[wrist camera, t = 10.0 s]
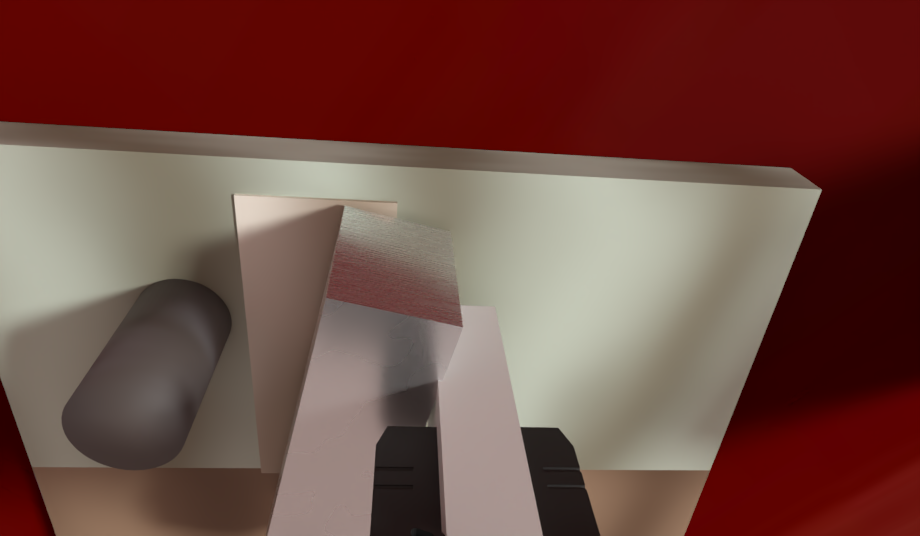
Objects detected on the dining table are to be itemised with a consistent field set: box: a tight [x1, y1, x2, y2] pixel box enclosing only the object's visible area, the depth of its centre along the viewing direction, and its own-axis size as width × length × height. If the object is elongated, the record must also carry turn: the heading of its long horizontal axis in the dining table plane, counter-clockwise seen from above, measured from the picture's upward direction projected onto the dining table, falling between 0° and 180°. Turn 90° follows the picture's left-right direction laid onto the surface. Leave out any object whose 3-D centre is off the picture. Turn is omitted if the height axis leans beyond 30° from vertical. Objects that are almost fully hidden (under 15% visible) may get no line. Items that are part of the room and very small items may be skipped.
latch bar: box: [265, 206, 463, 536], centre depth 16 cm, size 10×3×5 cm, turn 163°
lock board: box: [0, 122, 822, 536], centre depth 19 cm, size 21×20×6 cm
